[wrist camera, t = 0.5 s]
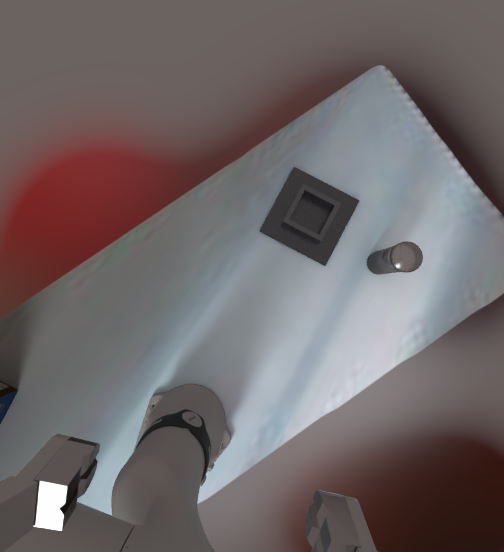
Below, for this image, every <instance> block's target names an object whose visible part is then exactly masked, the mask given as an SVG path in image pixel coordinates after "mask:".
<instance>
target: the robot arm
mask: <svg viewBox="0 0 504 552" xmlns="http://www.w3.org/2000/svg"><path fill="white" fill-rule="evenodd" d="M153 405H155V406H154V407H153ZM230 441H231V434H230V432H229V430H228V428H227V426H226V423H225V413H224V409H223V406H222V404H221V402H220V400H219V399H218V397H217V396H216V395H215V394H214V393H213V392H212V391H210V390H209V389H207V388H205V387H203V386H200V385H194V384H187V385H182V386H179V387H177V388H175V389H173V390H171V391H169V392H166V393H157V394H154V395H153V396H152V397H151V399H150V402H149V405H148V408H147V411H146V414H145V417H144V420H143V424H142V427H141V430H140V433H139V436H138V439H137V442H136V446H135V449H134V452H133V454H132V455H131V457H130V458H129V460H128V461H127V462H126V464H125V465H124V467H123V468H122V469H121V471H120V472H119V474H118V476H117V478H116V480H115V483H114V486H113V491H112V516H111V515H109V514H106V513H104V512H101V511H99V510H96V509H94V508H91V507H89V506H86V505H84V504H81V503H79V502H77V498H79V497H80V496H82V495H83V494H84V493H85V492H86V490H87V488H88V487H89V485H90V483H91V481H92V479H93V476H94V474H95V471H96V468H97V460H96V458H95V457H96V456H97V454H98V453H99V448H100V444H98V443H94V442H90V441H86V440H82V439H78V438H74V437H69V436H65V435H61V434H56V435H55V436H53V437H52V438H51V439H50V440H49V441H48V442H47V443H46V445H45V446H44V447H43V448H42V449H41V450H40V451H39V452H38V453H37V454H36V456H35V457H34V458H33V459H32V460H31V461H30V462H29V463H28V464H27V465H26V467H25V468H24V469H23V470H22V471H21V472H20V473H19V474H18V475H17V476H16V477H13V476H11V477H9V478H7V479H5V480H3V481H1V482H0V552H214V550H213V548H212V547H211V545H210V543H209V541H208V539H207V537H206V534H205V532H204V529H203V526H202V523H201V520H200V517H199V513H198V508H197V501H198V494H199V489H200V488H201V486H202V485H203V483H204V482H205V480H206V472H207V471H211V470H212V468H213V466H214V462H215V461H216V460H217V458H218V457H219V456H220V455H221V453H222V452H223V451H224V450H225V448H226V447H227V446H228V445H229V443H230ZM222 443H223V444H222ZM313 502H314V503H313V504H312V505H310V506H309V508H308V511H307V514H306V535H307V540H308V542H309V543H310V545H311V546H312V548H313V549H312V551H311V552H378V551H376V548H375V545H374V543H373V540H372V537H371V535H370V532H369V529H368V527H367V524H366V521H365V519H364V516H363V513H362V510H361V508H360V505H359V502H358V501H357V499H356V498H352V497H347V496H342V495H339V494H334V493H329V492H324V491H319V490H317V491H316V492H315V493H314V495H313Z"/></svg>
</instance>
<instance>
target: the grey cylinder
mask: <svg viewBox="0 0 504 552" xmlns="http://www.w3.org/2000/svg"><path fill="white" fill-rule="evenodd" d="M422 260H423V255H422V251H421V249H420V248H419V247H418V246H417V245H416V244H414V243H412V242H402V243H399V244H397V245H395V246H393V247H389V248H386V249H383V250H380V251H376V252H374V253H372V254H371V255H370V256H369V257H368V259H367V266H368V269H369V270H370V271H371V272H372V273H374V274H388V273H396V272H412V271H415V270H416V269H418V268H419V266H420V265H421V263H422Z"/></svg>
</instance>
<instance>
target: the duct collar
mask: <svg viewBox="0 0 504 552" xmlns="http://www.w3.org/2000/svg"><path fill="white" fill-rule="evenodd" d="M358 202H359V200H357V199H355V198H353V197H351V196H349V195H347V194H346V193H344V192H342V191H340V190H338V189H336V188H334V187H332V186H330V185H328V184H326V183H324V182H322V181H320V180H319V179H317V178H315V177H313V176H311V175H309V174H307V173H305V172H303V171H301V170H299V169H297V168H295V167H294V168H293V170H292V171H291V173H290V175H289V177H288V179H287V181H286V183H285V184H284V186H283V188H282V190H281V192H280V194H279V196H278V197H277V199H276V201H275V203H274V205H273V207H272V209H271V210H270V212H269V214H268V216H267V218H266V220H265V222H264V224H263V225H262V227H261V229H260V232H262V233H264V234H266V235H268V236H269V237H271V238H273V239H275V240H277V241H279V242H281V243H283V244H285V245H287V246H288V247H290V248H292V249H294V250H296V251H298V252H300V253H302V254H304V255H306V256H307V257H309V258H311V259H313V260H315V261H317V262H319V263H321V264H323V265H324V266H325V265H326V263H327V262H328V260H329V258H330V256H331V254H332V252H333V250H334V248H335V246H336V244H337V242H338V240H339V239H340V237H341V235H342V233H343V231H344V229H345V227H346V225H347V223H348V221H349V219H350V217H351V216H352V214H353V212H354V210H355V208H356V206H357V204H358Z"/></svg>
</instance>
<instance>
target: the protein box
mask: <svg viewBox="0 0 504 552" xmlns="http://www.w3.org/2000/svg"><path fill="white" fill-rule="evenodd" d="M16 393H17V390H16V389H15V388H13V387H11V386H9V385H7V384H5V383H3V382H1V381H0V424H1V422H2V420H3V418H4V416H5V414H6V412H7V410H8V408H9V407H10V405H11V403H12V401H13V399H14V397H15V395H16Z"/></svg>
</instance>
